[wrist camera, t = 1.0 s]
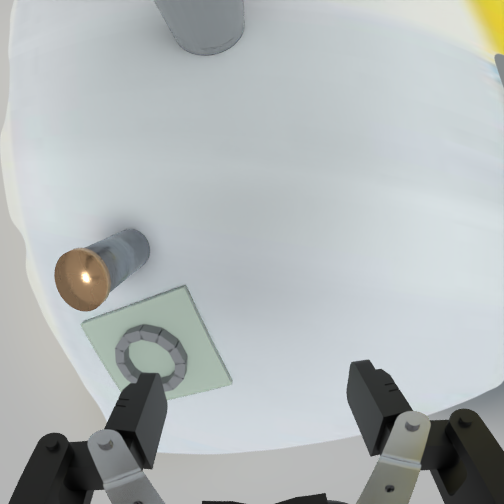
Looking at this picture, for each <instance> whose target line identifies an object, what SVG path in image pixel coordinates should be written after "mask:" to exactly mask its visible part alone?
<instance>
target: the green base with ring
mask: <svg viewBox="0 0 504 504" xmlns="http://www.w3.org/2000/svg"><path fill="white" fill-rule="evenodd" d="M80 325H81V326H82V328H83V330H84V332H85V334H86V336H87V337H88V339H89V341H90V343H91V345H92V346H93V348H94V350H95V351H96V353H97V355H98V357H99V358H100V360H101V362H102V363H103V365H104V366H105V368H106V370H107V371H108V373H109V374H110V376H111V378H112V379H113V381H114V382H115V384H116V385H117V387H118V388H119V390H120V391H121V392H122V390H123V389H124V388H125V387H126V386H128V385H129V384H130V383H136V382H137V380H138V378H139V376H140V374H141V373H142V372H147V373H159V374H160V376H161V380H162V384H163V388H164V392H165V395H166V399H167V400H170V399H175V398H179V397H184V396H188V395H193V394H197V393H201V392H205V391H209V390H213V389H217V388H221V387H224V386H228V385H232V379H231V377H230V375H229V373H228V371H227V369H226V367H225V366H224V364H223V362H222V360H221V358H220V356H219V354H218V352H217V350H216V348H215V346H214V344H213V342H212V340H211V338H210V336H209V334H208V332H207V329H206V327H205V325H204V323H203V321H202V319H201V317H200V315H199V313H198V311H197V309H196V306H195V304H194V302H193V300H192V298H191V296H190V293H189V291H188V289H187V287H186V285H184V286H181V287H179V288H176V289H173V290H170V291H168V292H165V293H162V294H159V295H157V296H154V297H151V298H148V299H146V300H143V301H140V302H137V303H134V304H132V305H129V306H126V307H123V308H120V309H118V310H115V311H112V312H109V313H106V314H104V315H101V316H98V317H95V318H92V319H90V320H87V321H84V322H83V323H81V324H80Z"/></svg>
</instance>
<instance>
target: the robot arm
mask: <svg viewBox="0 0 504 504" xmlns="http://www.w3.org/2000/svg"><path fill="white" fill-rule="evenodd" d="M154 2H155V4H156V5H157V7H158V9H159V11H160V12H161V14H162V16H163V18H164V19H165V21H166V23H167V25H168V26H169V28H170V30H171V32H172V34H173V35H174V37H175V39H176V41H177V42H178V44H179V45H180V46H181V47H182V48H183V49H185V50H186V51H189V52H191V53H194V54H198V55H210V54H216V53H220V52H222V51H224V50H227V49H228V48H230V47H231V46H233V45H234V44H235V43H236V42H237V41H238V40H239V38H240V37H241V35H242V33H243V30H244V3H243V0H154ZM347 400H348V403H349V406H350V408H351V411H352V413H353V415H354V418H355V420H356V422H357V425H358V427H359V429H360V432H361V434H362V436H363V439H364V442H365V444H366V446H367V448H368V451H369V454H370V456H375V455H379V454H380V458H379V460H378V462H377V464H376V466H375V468H374V470H373V472H372V475H371V476H370V478H369V480H368V482H367V484H366V486H365V488H364V490H363V492H362V494H361V496H360V498H359V499H358V501H357V503H356V504H408V503H409V500H410V497H411V495H412V492H413V490H414V487H415V484H416V481H417V478H418V475H419V472H420V470H430V471H431V474H432V476H433V478H434V480H435V483H436V485H437V487H438V489H439V492H440V494H441V496H442V499H443V501H444V503H445V504H504V451H503V450H502V448H501V447H500V445H499V444H498V442H497V441H496V439H495V438H494V436H493V435H492V434H491V432H490V431H489V429H488V428H487V426H486V425H485V423H484V422H483V421H482V419H481V418H480V417H479V415H478V414H477V413H476V412H474V411H472V410H469V409H459V410H456V411H454V412H453V413H452V414H451V416H450V418H449V420H435V421H433V420H432V421H431V420H429V418H428V417H427V416H426V415H425V414H423V413H421V412H417V411H413V410H412V408H411V407H410V405H409V403H408V402H407V400H406V399H405V397H404V396H403V394H402V393H401V391H400V390H399V388H398V387H397V385H396V384H395V382H394V380H393V379H392V377H391V376H390V375H389V374H388V373H386V372H385V371H383V370H382V369H377V370H375V368H374V366H373V365H372V363H371V362H370V360H362V361H355V362H352V363H351V365H350V371H349V378H348V384H347ZM166 414H167V399H166V395H165V392H164V388H163V384H162V380H161V376H160V374H159V373H147V372H142V373H141V374H140V376H139V378H138V380H137V382H136V383H130V384H129V385H128V386H126V387H125V388H124V389H123V390H122V392H121V394H120V396H119V400H117V403H116V406H115V407H114V409H113V411H112V413H111V415H110V418H109V420H108V422H107V424H106V426H105V428H104V430H100V431H97V432H95V433H94V434H92V435H91V436H90V438H89V440H88V441H82V442H68V440H67V438H66V437H65V436H64V435H62V434H60V433H50V434H47V435H45V436H43V437H42V438H41V439H40V440H39V442H38V444H37V446H36V448H35V449H34V451H33V453H32V455H31V457H30V459H29V461H28V463H27V465H26V467H25V469H24V471H23V474H22V475H21V477H20V480H19V482H18V484H17V486H16V488H15V490H14V492H13V495H12V497H11V499H10V501H9V504H90V502H91V499H92V495H93V492H94V490H105V491H106V493H107V495H108V497H109V499H110V501H111V503H112V504H165V503H164V501H163V500H162V499H161V497H160V496H159V494H158V493H157V491H156V490H155V489H154V487H153V486H152V484H151V483H150V481H149V480H148V478H147V477H146V475H145V474H144V472H143V468H144V469H152V468H153V464H154V460H155V456H156V452H157V448H158V445H159V441H160V437H161V433H162V429H163V426H164V422H165V418H166ZM202 504H244V503H239V502H233V501H223V502H222V501H202ZM276 504H347V503H344V502H339V501H332V500H327V498H326V494H325V493H323V494H317V495H311V496H302V497H295V498H292V499H289V500H286V501H282V502H279V503H276Z"/></svg>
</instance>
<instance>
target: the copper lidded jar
mask: <svg viewBox="0 0 504 504" xmlns="http://www.w3.org/2000/svg"><path fill="white" fill-rule="evenodd" d="M149 253H150V248H149V243H148V241H147V239H146V238H145V236H144V235H143V234H142V233H140V232H139V231H136V230H133V229H128V230H124V231H122V232H120V233H117V234H115V235H113V236H110V237H108V238H106V239H103V240H101V241H99V242H97V243H94V244H92V245H90V246H88V247H85V248H76V249H73V250H71V251H69V252H67V253H65V254H63V255H62V256H61V257H60V258H59V260H58V262H57V264H56V267H55V283H56V287H57V289H58V292H59V293H60V295H61V297H62V298H63V299H64V301H65V302H66V303H67V304H69V305H70V306H71V307H73V308H75V309H77V310H80V311H91V310H94V309H96V308H97V307H98V306H99V305H101V304H102V303H103V302H104V301H105V300H106V298H107V297H108V295H109V293H110V292H111V291H112V290H113V289H114V288H116V287H117V286H118V285H119V284H120V283H122V282H123V281H124V280H125V279H126V278H128V277H129V276H130V275H131V274H132V273H134V272H135V271H136V270H137V269H139V268H140V267H141V266H142V265H143V264H145V262H146V261H147V259H148V257H149Z"/></svg>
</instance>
